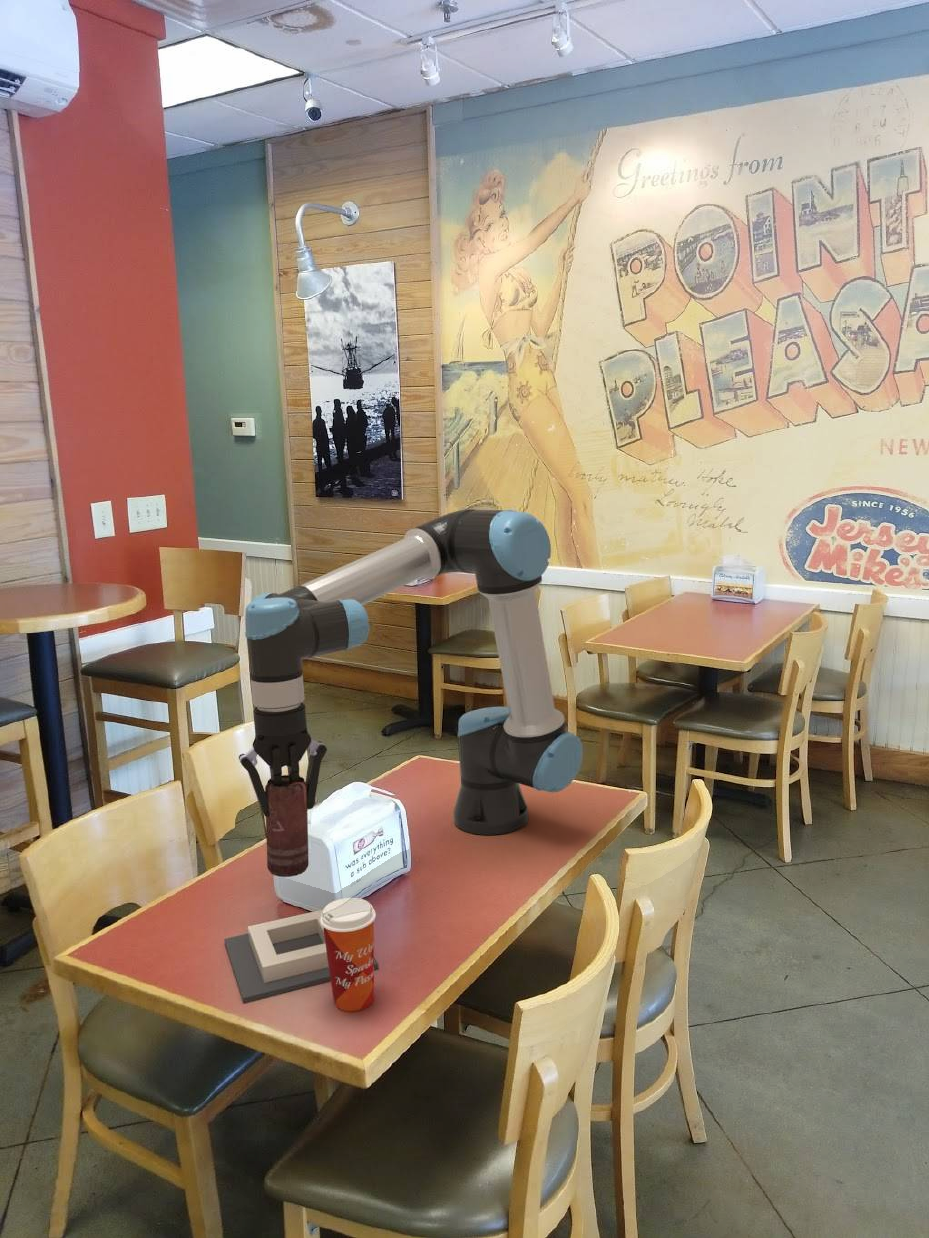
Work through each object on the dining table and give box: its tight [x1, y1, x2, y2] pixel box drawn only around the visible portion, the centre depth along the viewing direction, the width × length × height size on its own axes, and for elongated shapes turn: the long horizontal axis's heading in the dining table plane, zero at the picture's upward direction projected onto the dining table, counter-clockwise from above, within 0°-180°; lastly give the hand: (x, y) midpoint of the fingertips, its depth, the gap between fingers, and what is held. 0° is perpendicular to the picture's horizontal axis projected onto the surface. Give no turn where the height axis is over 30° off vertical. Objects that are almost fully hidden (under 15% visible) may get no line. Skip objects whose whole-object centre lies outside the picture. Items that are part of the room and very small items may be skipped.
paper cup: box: [320, 897, 377, 1013], centre depth 135 cm, size 8×8×14 cm
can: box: [264, 774, 310, 878], centre depth 144 cm, size 6×6×14 cm
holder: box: [247, 908, 329, 983], centre depth 148 cm, size 13×13×2 cm
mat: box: [223, 933, 379, 1004], centre depth 149 cm, size 20×18×1 cm
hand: (291, 855), depth 146 cm, fingers closed
